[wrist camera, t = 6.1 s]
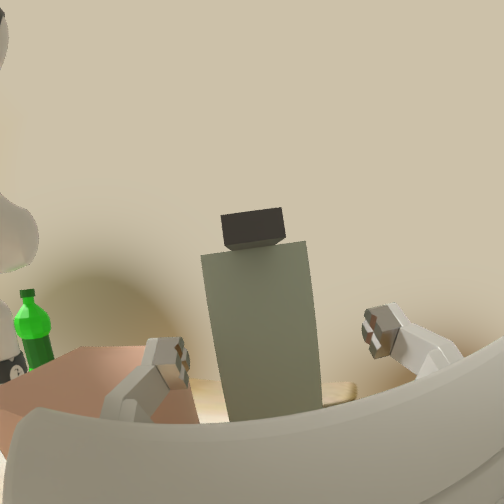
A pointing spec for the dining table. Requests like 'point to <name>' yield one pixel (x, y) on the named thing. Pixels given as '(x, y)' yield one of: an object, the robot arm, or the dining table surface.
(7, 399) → the pinkish tan cardboard cube
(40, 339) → the plastic bottle
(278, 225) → the domino
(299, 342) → the pedestal
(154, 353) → the robot arm
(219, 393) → the dining table surface
